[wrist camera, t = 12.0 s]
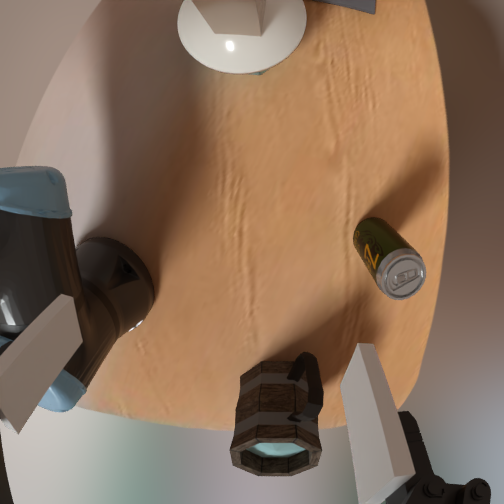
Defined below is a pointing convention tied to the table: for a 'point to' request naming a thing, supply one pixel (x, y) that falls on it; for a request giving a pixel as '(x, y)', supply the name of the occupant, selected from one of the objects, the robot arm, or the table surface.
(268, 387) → the mug
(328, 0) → the mat
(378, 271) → the beer can
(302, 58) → the table surface
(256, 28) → the lid
